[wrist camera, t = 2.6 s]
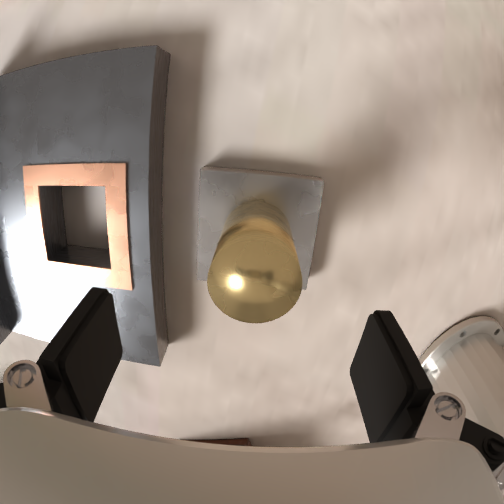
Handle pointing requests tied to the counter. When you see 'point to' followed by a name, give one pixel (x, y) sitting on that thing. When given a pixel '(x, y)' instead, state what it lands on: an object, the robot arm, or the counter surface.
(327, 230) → the counter surface
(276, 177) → the gray square slab
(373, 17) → the counter surface
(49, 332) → the plate
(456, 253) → the counter surface
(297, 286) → the barrel peg
